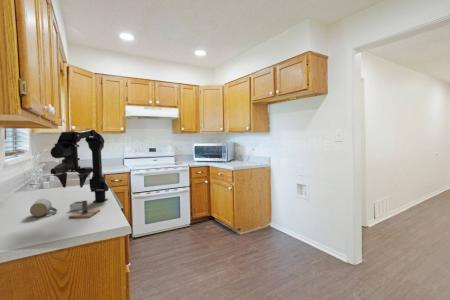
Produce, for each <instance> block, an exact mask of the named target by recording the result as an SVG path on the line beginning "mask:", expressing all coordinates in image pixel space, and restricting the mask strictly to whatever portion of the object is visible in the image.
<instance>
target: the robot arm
mask: <svg viewBox="0 0 450 300" xmlns="http://www.w3.org/2000/svg"><path fill="white" fill-rule="evenodd" d="M82 139H84V140H85V142H86V143H87V145H88V148H89V150H90V151H91V158H92V159H91V161H92V162H91V163H92V166H84V167H83V166H82V167H81V165H79V161H80V160H81V158H80V157H79V154H78V153H79V152H78V148H80V145H79V144H78V143H79V142H80V141H81V140H82ZM104 145H105V139H104V138H103V136H102V134H100V133H99V132H98V131H97V132H96V130H95V129H92V128H91V129H90V128H89V129H88V128H87V129H83V130H79V131H77V130H76V131H61V133H60V135H59V137H58V139H57V142H56V143H54V146H53V147H52V148H51V149H50V156H51V157H52V158H54V159H61V163H59V164H57V165H55V166H54V167H52V168H51V169H50V175H53V177H56V178H57V179H58V180H59V182H60V184H61V186H62V187H63V189H65V188H66V187H67V181H68V173H78V174H77V177H78V178H79V187H80V188H83V187H84V184H85V183H86V181H87V179H88V177H89V175H91V173H92V176H91V178H89V180H88V181H89V189H90V192H91V193H94V198H95V199H94V200H92V203H103V202H106V201H108V200H109V199H108V198H106V192H108V191H109V189H110V186H109V184H108V183H107V181H106V178H105V176H104V175H103V168H102V167H103V165H102V150H103V148H104Z"/></svg>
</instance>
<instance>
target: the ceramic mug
mask: <svg viewBox="0 0 450 300" xmlns="http://www.w3.org/2000/svg"><path fill="white" fill-rule="evenodd" d="M52 206H53V205H52V202H51V200H49V199H47V198H39V199H37V200H36V201H35V202H34V203H33V204H31V206H30V209H29V212H30V213H29V214H30V215H32V216H33V217H35V218H40V217H43V216H46V214H48V215H56V214H57V213H58V208H56V207H52Z"/></svg>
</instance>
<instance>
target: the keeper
mask: <svg viewBox="0 0 450 300" xmlns="http://www.w3.org/2000/svg"><path fill="white" fill-rule="evenodd" d="M81 201H82V208H83V210H78V211H75V213H72V214H70V215H69V216H68V219H87V218H92V217H93V216H95V215H97V214H98V213H100V212H101V209H99V208H98V209H97V208H96V209H88V207H87V203H88V200H87V199H86V200H81Z"/></svg>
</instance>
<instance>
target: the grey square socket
mask: <svg viewBox="0 0 450 300" xmlns="http://www.w3.org/2000/svg"><path fill="white" fill-rule="evenodd" d="M82 201H83V200H80V201H79V200H77V201H74V202H73V203H70V204H69V211H72V212H74V211H75V212H78V211H80V210H83V208H82ZM88 204H89V203H88V202H87V208H88V206H89V205H88Z"/></svg>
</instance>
